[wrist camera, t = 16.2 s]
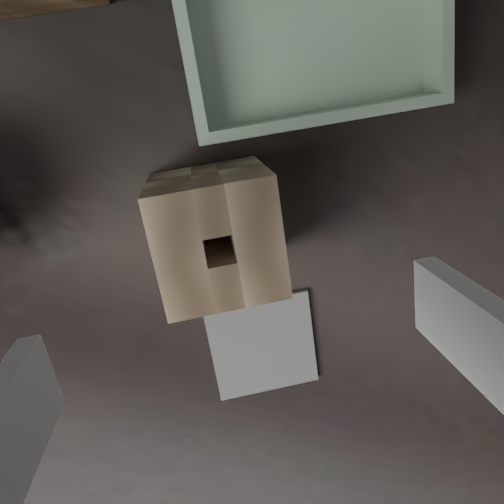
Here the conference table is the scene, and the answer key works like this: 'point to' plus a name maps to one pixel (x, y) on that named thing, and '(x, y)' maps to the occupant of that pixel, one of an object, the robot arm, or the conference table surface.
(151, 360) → the conference table surface
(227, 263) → the maple block
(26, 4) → the oak block
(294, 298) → the mat
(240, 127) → the sage tray
